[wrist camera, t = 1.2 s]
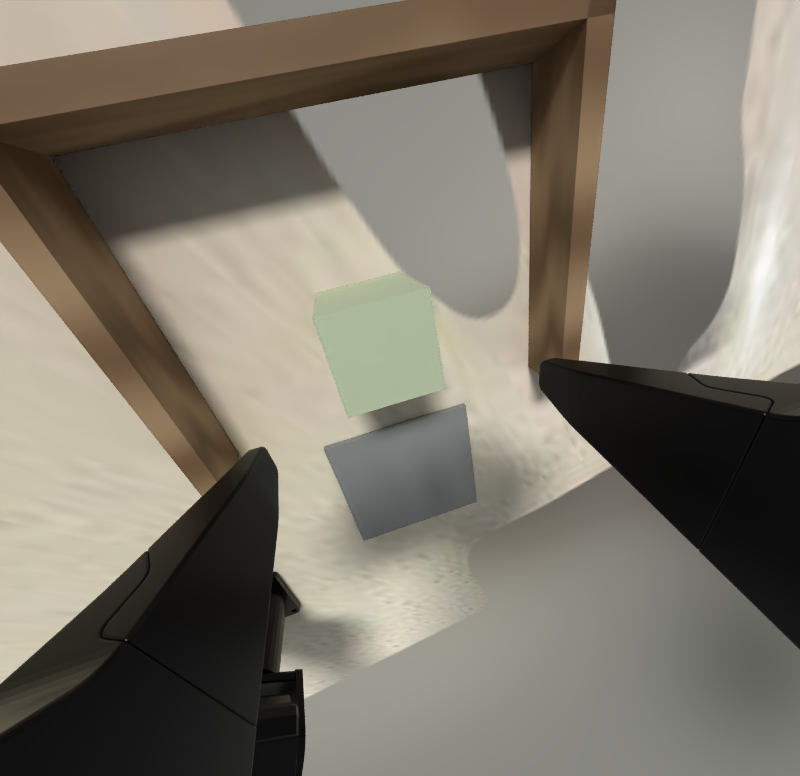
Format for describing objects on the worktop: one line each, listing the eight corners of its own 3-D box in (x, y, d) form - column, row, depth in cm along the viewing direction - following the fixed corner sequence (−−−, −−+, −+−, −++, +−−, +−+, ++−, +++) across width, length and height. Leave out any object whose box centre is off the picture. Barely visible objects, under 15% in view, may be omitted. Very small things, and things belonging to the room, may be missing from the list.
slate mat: (474, 498, 28) (476, 501, 28) (363, 536, 27) (363, 540, 27) (463, 403, 23) (465, 406, 23) (324, 446, 22) (324, 450, 22)
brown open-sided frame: (542, 362, 23) (576, 381, 20) (221, 460, 20) (204, 499, 17) (555, 23, 14) (619, -35, 11) (-7, 124, 12) (-123, 86, 9)
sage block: (413, 348, 20) (445, 388, 15) (341, 369, 20) (348, 418, 14) (398, 271, 18) (430, 287, 12) (315, 292, 17) (312, 318, 12)
